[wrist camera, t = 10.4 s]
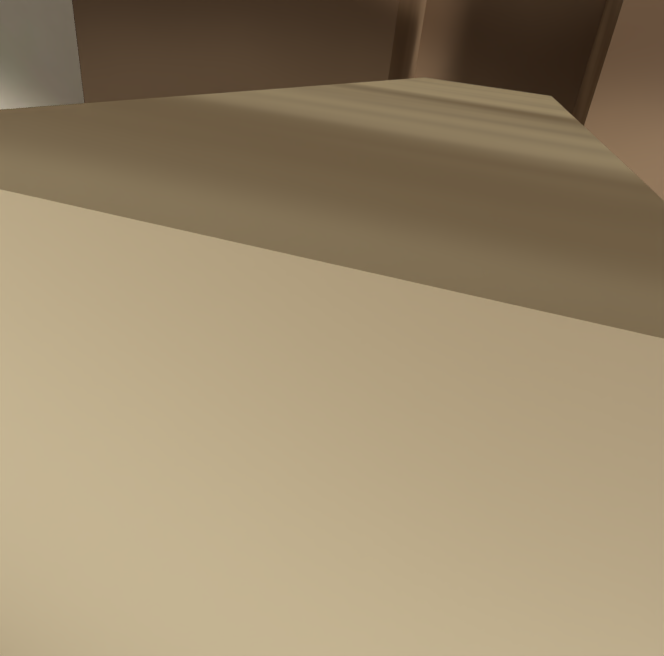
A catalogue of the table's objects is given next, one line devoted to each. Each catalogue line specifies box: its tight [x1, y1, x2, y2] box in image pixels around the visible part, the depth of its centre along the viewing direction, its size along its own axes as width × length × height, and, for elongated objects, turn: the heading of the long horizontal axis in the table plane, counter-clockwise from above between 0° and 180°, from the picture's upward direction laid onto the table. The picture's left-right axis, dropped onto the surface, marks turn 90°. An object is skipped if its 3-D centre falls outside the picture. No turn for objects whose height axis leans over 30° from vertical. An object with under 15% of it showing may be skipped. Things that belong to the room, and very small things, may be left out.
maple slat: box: [0, 78, 664, 656], centre depth 10 cm, size 10×3×14 cm, turn 174°
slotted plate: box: [72, 0, 664, 200], centre depth 19 cm, size 14×24×5 cm, turn 84°
